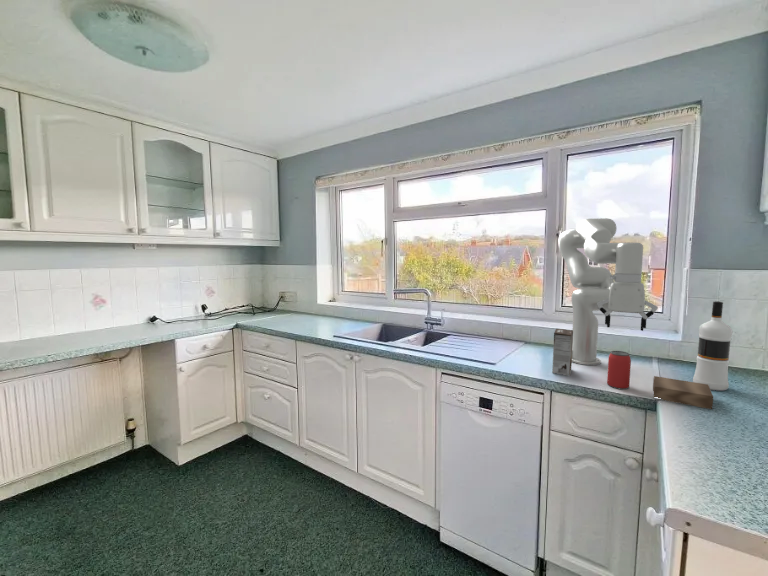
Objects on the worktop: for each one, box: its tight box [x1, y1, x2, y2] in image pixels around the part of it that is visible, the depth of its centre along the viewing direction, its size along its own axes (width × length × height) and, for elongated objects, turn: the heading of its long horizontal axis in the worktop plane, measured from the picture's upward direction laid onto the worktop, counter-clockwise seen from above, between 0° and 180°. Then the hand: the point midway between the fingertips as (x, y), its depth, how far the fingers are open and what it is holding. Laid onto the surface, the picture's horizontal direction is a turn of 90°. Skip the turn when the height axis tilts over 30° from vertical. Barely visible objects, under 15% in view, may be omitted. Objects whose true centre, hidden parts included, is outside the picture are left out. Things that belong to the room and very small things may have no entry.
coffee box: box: [552, 328, 573, 376], centre depth 141 cm, size 9×6×16 cm
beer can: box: [606, 350, 632, 390], centre depth 125 cm, size 7×7×12 cm
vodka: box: [692, 300, 733, 392], centre depth 124 cm, size 9×9×30 cm
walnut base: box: [652, 375, 714, 410], centre depth 116 cm, size 14×12×4 cm
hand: (624, 328), depth 124 cm, fingers open, 9 cm apart
